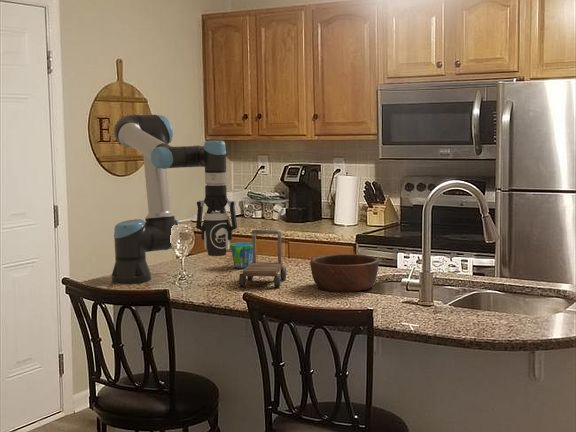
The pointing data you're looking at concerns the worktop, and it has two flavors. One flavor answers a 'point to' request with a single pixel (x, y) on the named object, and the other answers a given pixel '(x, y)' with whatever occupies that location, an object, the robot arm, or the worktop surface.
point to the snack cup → (242, 254)
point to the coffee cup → (216, 233)
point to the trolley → (264, 263)
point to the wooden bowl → (344, 272)
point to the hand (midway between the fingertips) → (217, 248)
